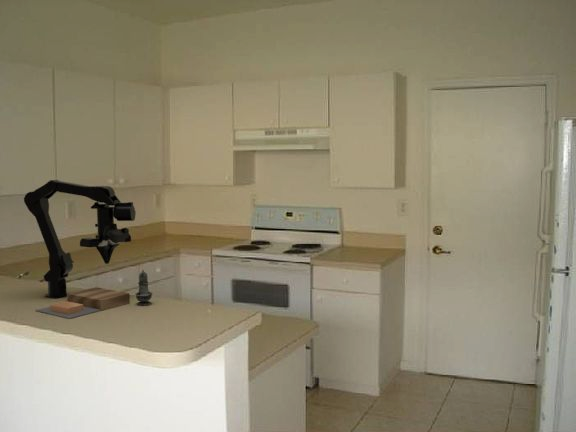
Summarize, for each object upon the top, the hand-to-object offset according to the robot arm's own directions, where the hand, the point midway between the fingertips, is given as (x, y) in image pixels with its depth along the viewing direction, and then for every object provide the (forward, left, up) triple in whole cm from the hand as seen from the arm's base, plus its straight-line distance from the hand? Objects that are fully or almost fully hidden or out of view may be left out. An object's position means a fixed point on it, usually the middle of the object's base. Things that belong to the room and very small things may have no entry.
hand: (107, 263), depth 211 cm
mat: (+6, -21, -12) cm, 25 cm away
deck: (+6, -9, -12) cm, 16 cm away
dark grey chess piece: (+20, -1, -12) cm, 23 cm away
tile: (+6, -22, -10) cm, 25 cm away
